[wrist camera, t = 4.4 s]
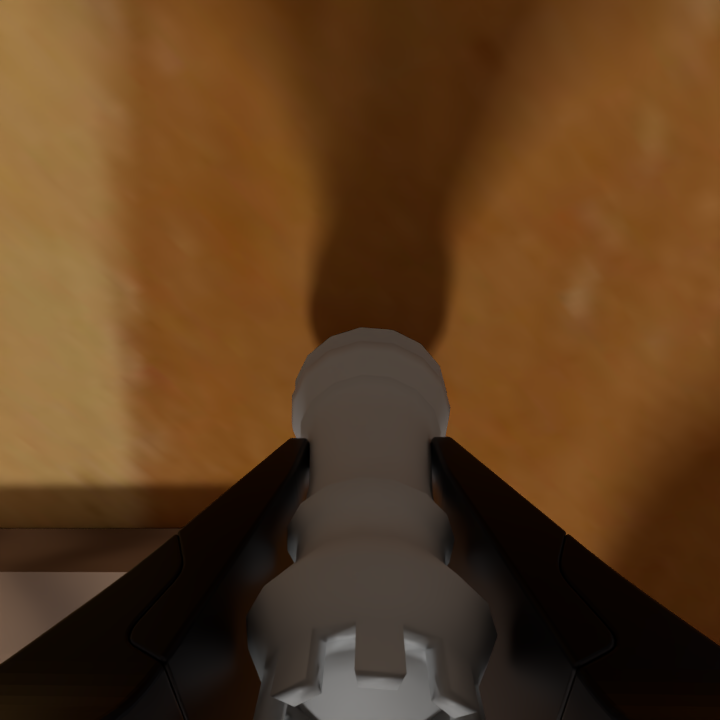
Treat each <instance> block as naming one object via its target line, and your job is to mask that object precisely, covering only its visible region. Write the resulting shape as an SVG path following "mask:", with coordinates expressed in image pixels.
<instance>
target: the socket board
mask: <svg viewBox="0 0 720 720" xmlns="http://www.w3.org/2000/svg"><path fill="white" fill-rule="evenodd" d="M180 529H182V528H162V529H0V664H1V663H2V662H4V661H5V660H7V659H8V658H10V657H11V656H12V655H14V654H15V653H17V652H18V651H19V650H21V649H22V648H24V647H25V646H26V645H28V644H29V643H30V642H32V641H33V640H35V639H36V638H37V637H39V636H40V635H42V634H43V633H44V632H46V631H47V630H49V629H50V628H51V627H53V626H54V625H56V624H57V623H58V622H60V621H61V620H63V619H64V618H65V617H67V616H68V615H69V614H71V613H72V612H74V611H75V610H76V609H78V608H79V607H81V606H82V605H83V604H85V603H86V602H88V601H89V600H90V599H92V598H93V597H95V596H96V595H97V594H99V593H100V592H101V591H103V590H104V589H105V588H107V587H108V586H109V585H111V584H112V583H113V582H115V581H116V580H117V579H119V578H120V577H122V576H123V575H124V574H126V573H127V572H128V571H130V570H131V569H132V568H133V567H135V566H136V565H137V564H138V563H140V562H141V561H142V560H143V559H145V558H146V557H147V556H148V555H150V554H151V553H152V552H153V551H155V550H156V549H157V548H158V547H160V546H161V545H162V544H163V543H164V542H166V541H167V540H168V539H169V538H170V537H172V536H173V535H174V534H177V535H178V531H179V530H180Z"/></svg>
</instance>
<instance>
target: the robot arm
mask: <svg viewBox="0 0 720 720" xmlns="http://www.w3.org/2000/svg"><path fill="white" fill-rule="evenodd" d="M431 453H432V487H433V499H434V502H435V503H436V504H437V505H438V506H439V507H440V508H441V509H442V510H443V511H444V512H445V513H446V514H447V516H448V519H449V522H450V525H451V528H452V531H453V535H454V538H455V540H454V545H453V549H452V553H451V558H450V562H449V564H448V565H447V566H448V567H449V568H450V569H451V570H453V571H454V572H455V573H456V574H458V575H459V576H460V577H461V578H462V579H463V580H464V581H465V582H466V583H467V584H468V585H469V586H470V587H471V588H473V589H474V590H475V591H476V592H477V593H478V594H479V595H480V596H481V597H482V598H483V599H484V600H485V601H486V602H487V603H488V605H489V608H490V611H491V615H492V618H493V622H494V625H495V628H496V632H497V635H498V636H497V639H496V641H495V644H494V647H493V650H492V653H491V656H490V659H489V662H488V665H487V667H486V670H485V672H484V675H483V677H482V680H481V682H480V685H479V691H480V695H481V699H482V704H483V708H484V713H485V717H486V720H720V646H719V645H717V644H716V643H715V642H713V641H712V640H710V639H709V638H708V637H706V636H705V635H703V634H702V633H700V632H699V631H698V630H696V629H695V628H693V627H692V626H691V625H689V624H688V623H686V622H685V621H684V620H682V619H681V618H679V617H678V616H676V615H675V614H674V613H672V612H671V611H669V610H668V609H667V608H665V607H664V606H662V605H661V604H660V603H658V602H657V601H655V600H654V599H652V598H651V597H650V596H648V595H647V594H646V593H644V592H643V591H642V590H640V589H639V588H637V587H636V586H635V585H633V584H632V583H631V582H629V581H628V580H626V579H625V578H624V577H622V576H621V575H620V574H618V573H617V572H616V571H614V570H613V569H612V568H611V567H609V566H608V565H607V564H605V563H604V562H603V561H602V560H600V559H599V558H598V557H597V556H595V555H594V554H593V553H591V552H590V551H589V550H588V549H586V548H585V547H584V546H583V545H582V544H580V543H579V542H578V541H577V540H575V539H574V538H573V537H572V536H571V535H569V534H567V535H566V532H565V531H564V530H563V529H562V528H561V527H559V526H558V525H557V524H556V523H554V522H553V521H552V520H551V519H550V518H548V517H547V516H546V515H545V514H544V513H542V512H541V511H540V510H539V509H537V508H536V507H535V506H534V505H533V504H531V503H530V502H529V501H528V500H526V499H525V498H524V497H523V496H522V495H520V494H519V493H518V492H517V491H515V490H514V489H513V488H512V487H511V486H509V485H508V484H507V483H506V482H505V481H503V480H502V479H501V478H500V477H498V476H497V475H496V474H495V473H494V472H492V471H491V470H490V469H489V468H487V467H486V466H485V465H484V464H483V463H481V462H480V461H479V460H478V459H476V458H475V457H474V456H473V455H472V454H470V453H469V452H468V451H467V450H466V449H464V448H463V447H462V446H461V445H459V444H458V443H457V442H456V441H455V440H453V439H452V438H451V437H433V438H432V440H431ZM309 466H310V455H309V441H308V439H307V438H290V439H289V440H287V441H286V442H285V443H284V444H283V445H281V446H280V447H279V448H278V449H277V450H275V451H274V452H273V453H272V454H271V455H269V456H268V457H267V458H266V459H265V460H263V461H262V462H261V463H260V464H259V465H257V466H256V467H255V468H254V469H252V470H251V471H250V472H249V473H248V474H246V475H245V476H244V477H243V478H242V479H240V480H239V481H238V482H237V483H236V484H234V485H233V486H232V487H231V488H230V489H228V490H227V491H226V492H225V493H224V494H222V495H221V496H220V497H219V498H218V499H216V500H215V501H214V502H213V503H212V504H210V505H209V506H208V507H207V508H206V509H204V510H203V511H202V512H201V513H200V514H198V515H197V516H196V517H195V518H194V519H192V520H191V521H190V522H189V523H188V524H186V525H185V526H184V527H183V528H182V529H180V530H179V531H178V535H177V534H174V535H173V536H172V537H170V538H169V539H168V540H167V541H166V542H164V543H163V544H162V545H161V546H160V547H158V548H157V549H156V550H155V551H153V552H152V553H151V554H150V555H148V556H147V557H146V558H145V559H143V560H142V561H141V562H140V563H138V564H137V565H136V566H135V567H133V568H132V569H131V570H130V571H128V572H127V573H126V574H124V575H123V576H122V577H120V578H119V579H117V580H116V581H115V582H113V583H112V584H111V585H109V586H108V587H107V588H105V589H104V590H103V591H101V592H100V593H99V594H97V595H96V596H95V597H93V598H92V599H90V600H89V601H88V602H86V603H85V604H83V605H82V606H81V607H79V608H78V609H76V610H75V611H74V612H72V613H71V614H69V615H68V616H67V617H65V618H64V619H63V620H61V621H60V622H58V623H57V624H56V625H54V626H53V627H51V628H50V629H49V630H47V631H46V632H44V633H43V634H42V635H40V636H39V637H37V638H36V639H35V640H33V641H32V642H30V643H29V644H28V645H26V646H25V647H24V648H22V649H21V650H19V651H18V652H17V653H15V654H14V655H12V656H11V657H10V658H8V659H7V660H5V661H4V662H2V663H1V664H0V720H253V717H254V713H255V708H256V704H257V699H258V695H259V691H260V686H261V680H260V678H259V675H258V673H257V670H256V668H255V665H254V662H253V660H252V657H251V655H250V652H249V650H248V643H247V629H246V615H247V614H248V612H249V610H250V609H251V607H252V605H253V603H254V602H255V600H256V598H257V597H258V595H259V593H260V592H261V590H262V588H263V587H264V586H265V585H266V584H267V583H269V582H270V581H271V580H273V579H274V578H275V577H277V576H278V575H279V574H280V573H282V572H283V571H284V570H286V569H287V568H288V567H290V566H291V565H292V564H294V561H293V560H292V558H291V556H290V554H289V552H288V551H287V526H288V524H289V523H290V521H291V519H292V517H293V516H294V514H295V512H296V510H297V509H298V507H299V505H300V503H302V502H303V501H305V500H306V497H307V492H308V488H309Z"/></svg>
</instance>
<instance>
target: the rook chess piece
mask: <svg viewBox="0 0 720 720" xmlns="http://www.w3.org/2000/svg"><path fill="white" fill-rule="evenodd" d="M449 413H450V405H449V401H448V397H447V391H446V388H445V384H444V380H443V377H442V373H441V369H440V366H439V365H438V364H437V362H436V361H435V360H434V359H433V358H432V356H431V355H430V354H429V353H428V352H427V351H426V349H425V348H424V347H423V346H422V345H421V344H420V343H418V342H416V341H414V340H412V339H410V338H408V337H406V336H404V335H402V334H400V333H398V332H396V331H394V330H388V329H375V328H362V327H360V328H357V329H354V330H351V331H347V332H344V333H341V334H338V335H334V336H331V337H329V338H328V339H327V340H326V341H325V342H323V343H322V344H321V345H320V346H319V347H317V348H316V349H315V350H314V351H313V352H311V353H310V354H309V355H308V356H307V358H306V360H305V362H304V364H303V366H302V368H301V370H300V372H299V375H298V377H297V379H296V385H295V391H294V393H293V395H292V426H293V431H294V433H295V435H296V438H307V439H308V441H309V455H310V466H309V488H308V492H307V497H306V500H305V501H303V502H302V503H300V505H299V507H298V509H297V510H296V512H295V514H294V516H293V517H292V519H291V521H290V523H289V524H288V526H287V551H288V552H289V554H290V556H291V558H292V560H293V561H294V564H292V565H291V566H290V567H288V568H287V569H286V570H284V571H283V572H282V573H280V574H279V575H278V576H277V577H275V578H274V579H273V580H271V581H270V582H269V583H267V584H266V585H265V586H264V587H263V588H262V590H261V592H260V593H259V595H258V597H257V598H256V600H255V602H254V603H253V605H252V607H251V609H250V610H249V612H248V614H247V615H246V629H247V643H248V650H249V652H250V655H251V657H252V660H253V662H254V665H255V668H256V670H257V673H258V675H259V678H260V680H261V686H260V691H259V695H258V699H257V704H256V708H255V713H254V717H253V720H486V717H485V713H484V708H483V704H482V699H481V695H480V691H479V685H480V682H481V680H482V677H483V675H484V672H485V670H486V667H487V665H488V662H489V659H490V656H491V653H492V650H493V647H494V644H495V641H496V639H497V636H498V635H497V632H496V628H495V625H494V622H493V618H492V615H491V611H490V608H489V605H488V603H487V602H486V601H485V600H484V599H483V598H482V597H481V596H480V595H479V594H478V593H477V592H476V591H475V590H474V589H473V588H471V587H470V586H469V585H468V584H467V583H466V582H465V581H464V580H463V579H462V578H461V577H460V576H459V575H458V574H456V573H455V572H454V571H453V570H451V569H450V568H449V567H448V566H447V565H448V564H449V562H450V558H451V553H452V549H453V545H454V540H455V538H454V535H453V531H452V528H451V525H450V522H449V519H448V516H447V514H446V513H445V512H444V511H443V510H442V509H441V508H440V507H439V506H438V505H437V504H436V503H435V502H434V499H433V487H432V453H431V440H432V438H433V437H445V435H446V429H447V424H448V419H449Z"/></svg>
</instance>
